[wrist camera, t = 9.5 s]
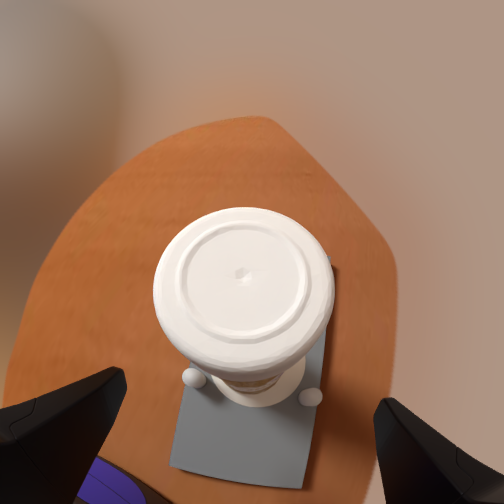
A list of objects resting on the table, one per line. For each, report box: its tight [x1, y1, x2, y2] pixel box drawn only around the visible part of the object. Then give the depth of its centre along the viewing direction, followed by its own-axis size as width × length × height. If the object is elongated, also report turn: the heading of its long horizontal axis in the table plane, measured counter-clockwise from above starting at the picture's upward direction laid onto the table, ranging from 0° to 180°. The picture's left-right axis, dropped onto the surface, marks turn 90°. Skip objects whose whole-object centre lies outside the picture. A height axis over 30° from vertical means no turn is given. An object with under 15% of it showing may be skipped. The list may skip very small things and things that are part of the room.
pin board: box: [169, 256, 330, 488], centre depth 18 cm, size 18×9×3 cm, turn 170°
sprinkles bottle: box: [153, 207, 335, 395], centre depth 12 cm, size 5×5×14 cm
